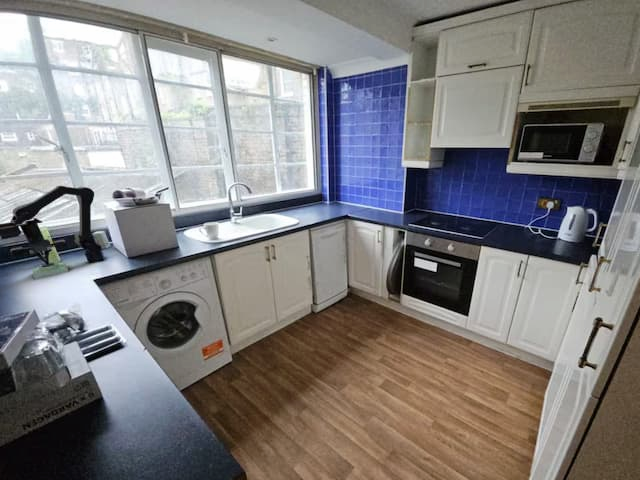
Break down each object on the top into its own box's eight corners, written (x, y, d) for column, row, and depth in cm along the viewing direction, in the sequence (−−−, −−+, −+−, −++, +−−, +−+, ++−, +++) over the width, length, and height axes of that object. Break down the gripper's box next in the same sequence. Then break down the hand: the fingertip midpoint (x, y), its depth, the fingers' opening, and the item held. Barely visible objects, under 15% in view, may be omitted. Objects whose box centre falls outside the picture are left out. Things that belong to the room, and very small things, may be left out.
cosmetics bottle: (102, 246, 184) (96, 231, 180) (110, 246, 185) (104, 230, 181) (98, 249, 179) (91, 233, 175) (106, 248, 180) (100, 232, 176)
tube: (59, 262, 160) (43, 227, 152) (46, 264, 157) (29, 229, 150) (62, 259, 164) (46, 225, 156) (49, 261, 162) (33, 227, 154)
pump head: (54, 265, 149) (52, 261, 148) (55, 267, 146) (53, 263, 146) (43, 268, 146) (41, 264, 146) (44, 270, 144) (42, 266, 143)
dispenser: (66, 266, 155) (63, 259, 153) (68, 271, 148) (65, 264, 147) (34, 273, 147) (30, 266, 145) (35, 279, 140) (31, 271, 139)
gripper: (3, 241, 128) (20, 274, 134) (61, 232, 141) (74, 262, 147) (4, 237, 135) (20, 268, 141) (59, 228, 148) (72, 257, 154)
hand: (47, 264), depth 146 cm, fingers closed, pressing on pump head
